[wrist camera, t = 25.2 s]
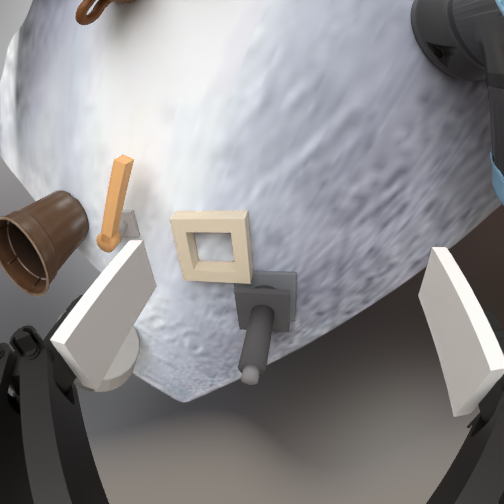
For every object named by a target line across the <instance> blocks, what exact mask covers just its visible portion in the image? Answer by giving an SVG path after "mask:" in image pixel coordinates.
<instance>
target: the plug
mask: <svg viewBox="0 0 504 504" xmlns="http://www.w3.org/2000/svg"><path fill="white" fill-rule="evenodd" d="M235 300H236V307H237V314H238V321H239V327H240V329H244V330H247V332H246V336H245V340H244V344H243V349H242V353H241V357H240V361H239V365H238V369H239V371H240V372H241V373H242V377H241V380H242V382H244V383H246V384H249V385H254V384H257V383H258V378H259V376H262V375H263V374H264V373H265V370H266V365H267V358H268V352H269V346H270V340H271V333H272V331H276V332H289V300H290V290H280V289H275V288H274V287H271V286H267V285H261V286H257V287H255V288H236V289H235Z"/></svg>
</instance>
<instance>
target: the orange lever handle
mask: <svg viewBox="0 0 504 504" xmlns="http://www.w3.org/2000/svg"><path fill="white" fill-rule="evenodd" d="M133 162H134V159H132V158H130V157H127V156H125V155H122V156H120V157H118V158H116V159H114V162H113V167H112V172H111V177H110V182H109V187H108V193H107V199H106V205H105V211H104V217H103V224H102V231H101V233H100V234H99V235H98V236H97V244H98V246H99V247H100V249H101V250H103V251H104V252H112V251H113V250H114V249H115V247H116V246H117V245H118V244H119V243H120V242H121V235H120V233H119V232H118V231H119V225H120V220H121V215H122V210H123V205H124V200H125V195H126V191H127V186H128V182H129V178H130V174H131V169H132V165H133Z"/></svg>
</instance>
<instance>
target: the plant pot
mask: <svg viewBox="0 0 504 504" xmlns="http://www.w3.org/2000/svg"><path fill="white" fill-rule="evenodd" d="M87 232H88V220H87V216H86V213H85V211H84V209H83V207H82V205H81V204H80V202H79V201H78V200H77V199H75V198H73V197H72V196H71V195H70V193H68V192H65V191H56V192H54V193H52V194H50V195H48V196H46V197H44V198H42V199H40V200H38V201H36V202H34V203H32V204H30V205H28V206H26V207H25V208H23V209H21V210H19V211H14V212H12V213H10V214H8V215H6V216H0V265H1V266H2V268H3V270H4V271H5V272H6V274H7V275H8V276H9V278H10V279H11V280H12V281H13V282H14V283H15V284H16V285H17V286H18V287H19V288H20V289H22V290H23V291H25V292H26V293H28V294H30V295H33V296H42V295H44V294H45V293H46V292H47V290H48V288H49V284H50V283H51V282H52V280H53V279H54V277H55V276H56V274H57V271H58V270H59V269H60V267H61V266H62V265H63V264H64V263H65V261H66V260H67V259H68V257H69V256H70V255H71V254H72V253H73V252H74V250H75V249H76V248H77V247H78V246H79V245H80V243H81V242H82V241H83V240H84V239H85V237H86V234H87Z"/></svg>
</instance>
